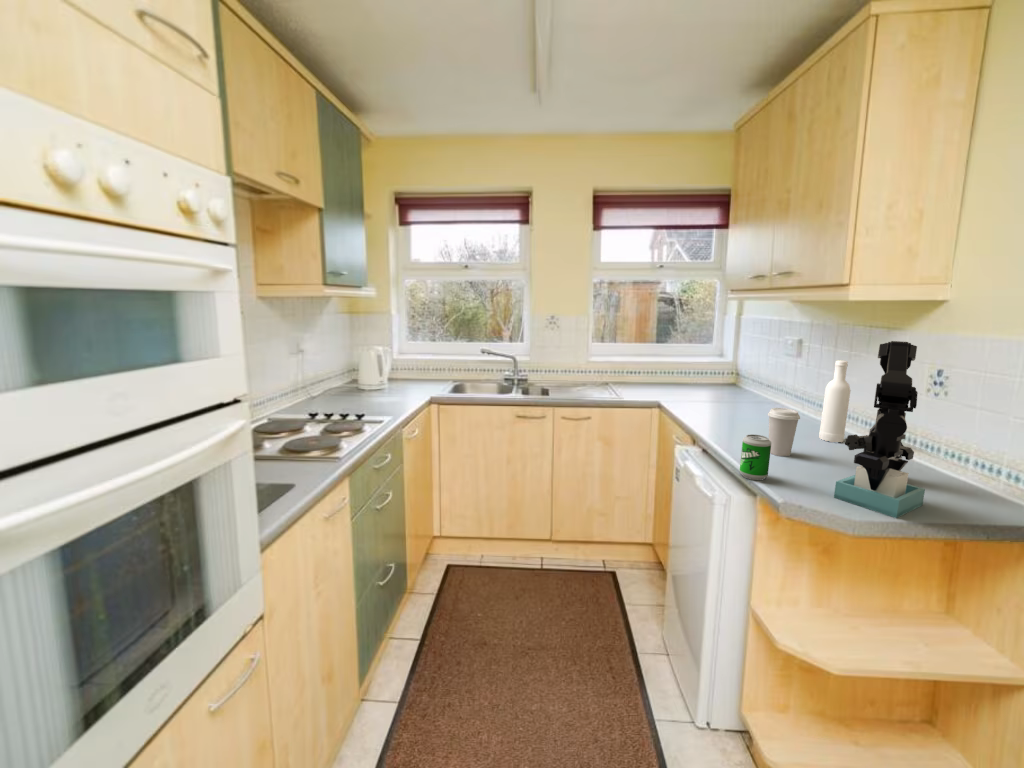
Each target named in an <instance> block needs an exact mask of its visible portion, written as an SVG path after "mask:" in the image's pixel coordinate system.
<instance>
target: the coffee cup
mask: <svg viewBox="0 0 1024 768" xmlns="http://www.w3.org/2000/svg"><path fill="white" fill-rule="evenodd" d="M767 416H768V418H769V419H768V438H769V440H770V441H771V451H770V453H771V454H770V455H774V456H777V457H790V456H791V453H792V448H793V444H794V440H795V435H796V432H797V427H798V422H799V420H801V416H800V414H799V411H798V410H796V409H795V410H794V409H791V408H784V407H772V408H770V411H768V413H767Z"/></svg>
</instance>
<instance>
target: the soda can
mask: <svg viewBox="0 0 1024 768" xmlns="http://www.w3.org/2000/svg"><path fill="white" fill-rule="evenodd" d="M770 451H771V441H770V440H769V437H767V436H765V435H760V434H747V435H746V436H744V437H742V444H741V453H740V463H739V473H740V474H741V475H742V476H743V478H745V479H748V480H752V481H763V480H764V479H766V478H767V477H768V476H769V470H770V469H769V468H770V458H771V454H770ZM762 479H763V480H762Z"/></svg>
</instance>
